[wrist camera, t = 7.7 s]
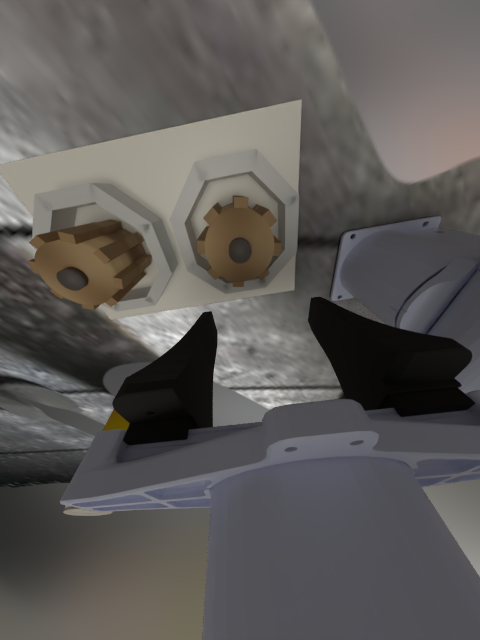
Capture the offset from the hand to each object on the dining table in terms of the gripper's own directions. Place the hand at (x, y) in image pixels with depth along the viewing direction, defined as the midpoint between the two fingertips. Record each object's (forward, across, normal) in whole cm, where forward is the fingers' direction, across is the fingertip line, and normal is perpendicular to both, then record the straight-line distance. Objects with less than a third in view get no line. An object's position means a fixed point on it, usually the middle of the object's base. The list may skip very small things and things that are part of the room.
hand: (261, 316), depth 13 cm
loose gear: (+7, +1, -5) cm, 9 cm away
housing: (+9, +6, -4) cm, 12 cm away
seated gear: (+7, +12, -4) cm, 15 cm away
